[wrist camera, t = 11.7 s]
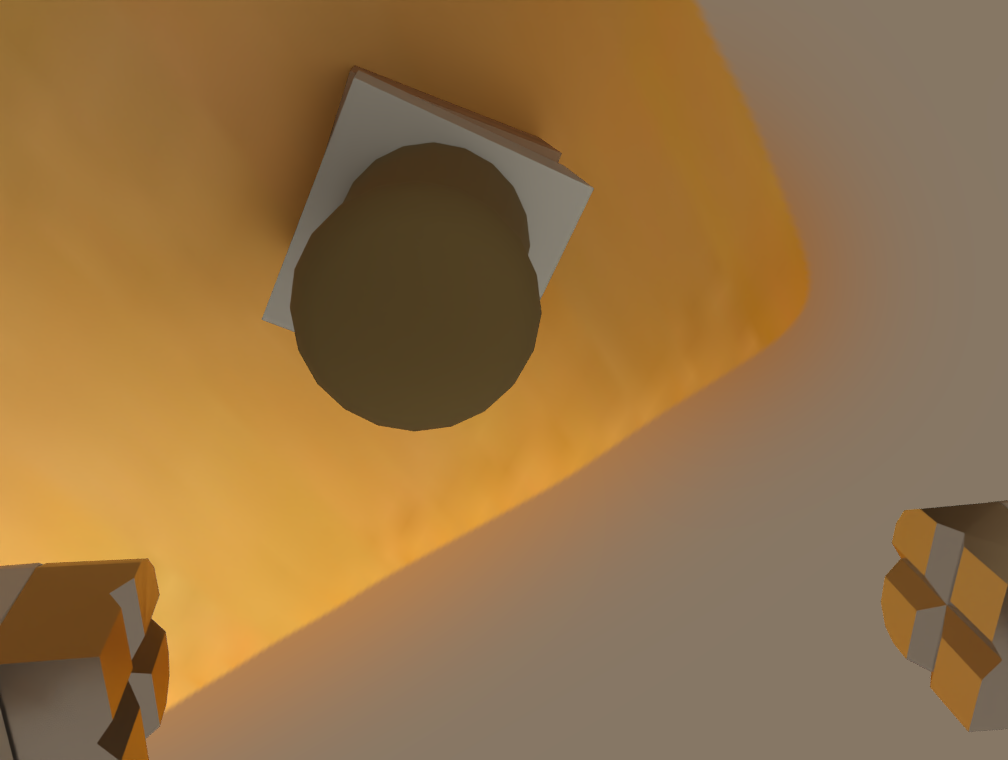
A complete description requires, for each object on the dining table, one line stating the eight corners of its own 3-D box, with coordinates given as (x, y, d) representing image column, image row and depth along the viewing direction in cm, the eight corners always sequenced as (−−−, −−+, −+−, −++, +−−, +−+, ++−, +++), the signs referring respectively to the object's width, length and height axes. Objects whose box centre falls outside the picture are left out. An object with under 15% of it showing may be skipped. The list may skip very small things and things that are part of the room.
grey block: (475, 354, 34) (489, 405, 30) (278, 278, 32) (261, 319, 28) (563, 165, 32) (593, 188, 28) (358, 70, 30) (354, 77, 25)
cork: (297, 260, 27) (190, 356, 17) (411, 99, 26) (374, 94, 15) (453, 372, 28) (444, 527, 18) (569, 224, 27) (634, 298, 17)
